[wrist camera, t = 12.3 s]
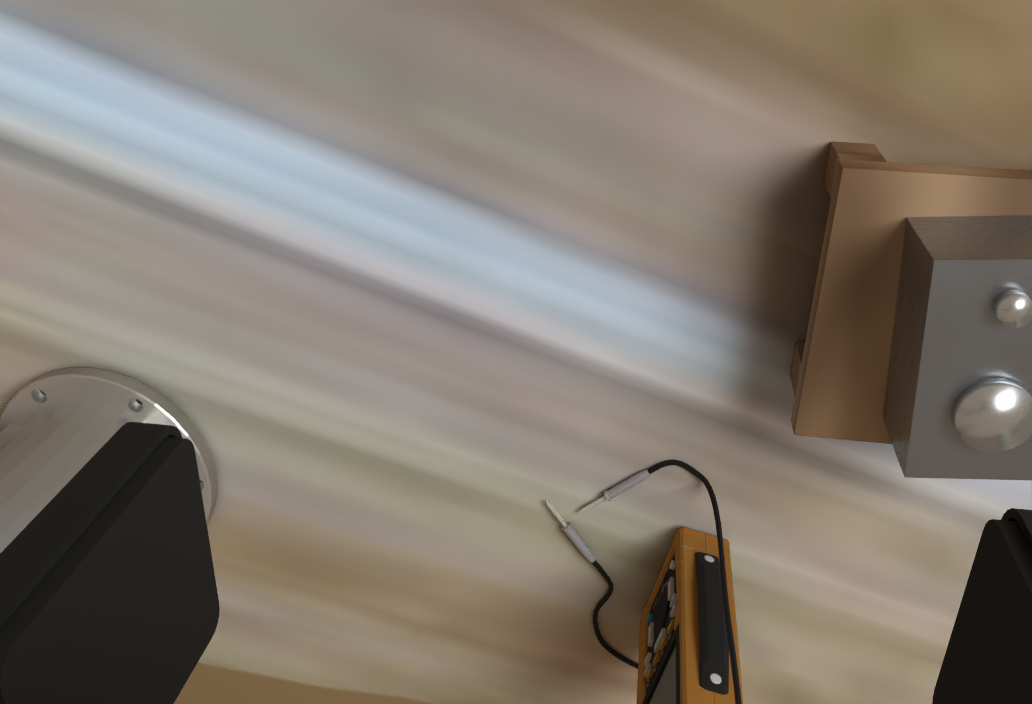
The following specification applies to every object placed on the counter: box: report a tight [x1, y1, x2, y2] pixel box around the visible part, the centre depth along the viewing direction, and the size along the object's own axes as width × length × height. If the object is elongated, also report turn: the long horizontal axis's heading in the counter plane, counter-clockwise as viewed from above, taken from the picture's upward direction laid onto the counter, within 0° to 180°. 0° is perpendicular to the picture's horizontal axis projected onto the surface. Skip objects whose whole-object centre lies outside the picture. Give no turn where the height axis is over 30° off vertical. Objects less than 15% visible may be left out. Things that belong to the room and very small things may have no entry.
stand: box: [790, 142, 1032, 444], centre depth 41 cm, size 12×12×5 cm
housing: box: [883, 215, 1032, 480], centre depth 37 cm, size 9×6×5 cm, turn 4°
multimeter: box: [545, 460, 743, 704], centre depth 44 cm, size 15×10×20 cm
